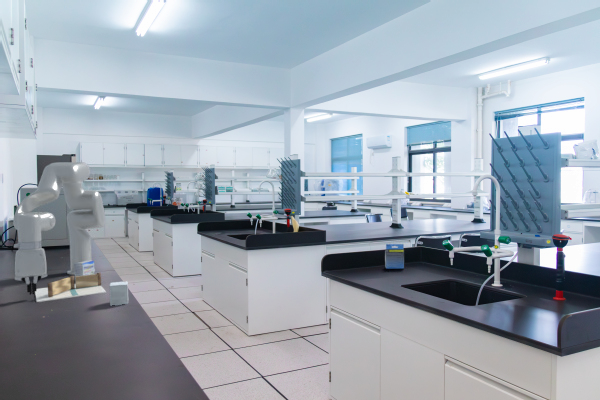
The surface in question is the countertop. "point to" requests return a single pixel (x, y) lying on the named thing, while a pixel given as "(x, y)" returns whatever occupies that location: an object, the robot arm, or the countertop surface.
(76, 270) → the medicine box
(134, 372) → the countertop surface
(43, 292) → the card
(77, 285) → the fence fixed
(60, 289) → the fence panel
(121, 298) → the product box
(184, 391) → the countertop surface
